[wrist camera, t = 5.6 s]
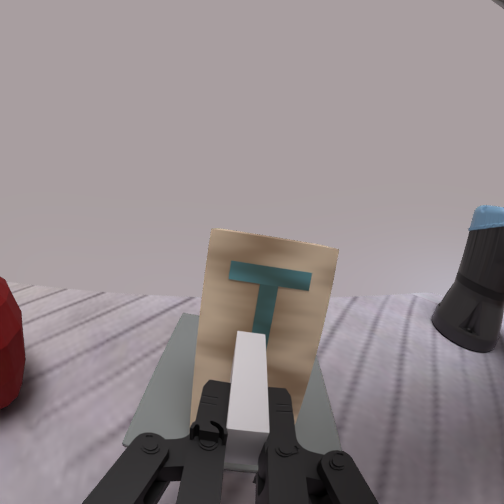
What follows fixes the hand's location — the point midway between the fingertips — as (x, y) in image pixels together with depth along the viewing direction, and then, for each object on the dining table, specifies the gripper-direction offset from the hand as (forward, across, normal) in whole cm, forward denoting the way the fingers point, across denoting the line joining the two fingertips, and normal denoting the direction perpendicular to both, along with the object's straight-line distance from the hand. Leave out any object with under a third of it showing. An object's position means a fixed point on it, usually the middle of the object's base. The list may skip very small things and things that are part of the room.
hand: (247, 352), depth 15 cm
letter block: (+1, +1, -8) cm, 8 cm away
